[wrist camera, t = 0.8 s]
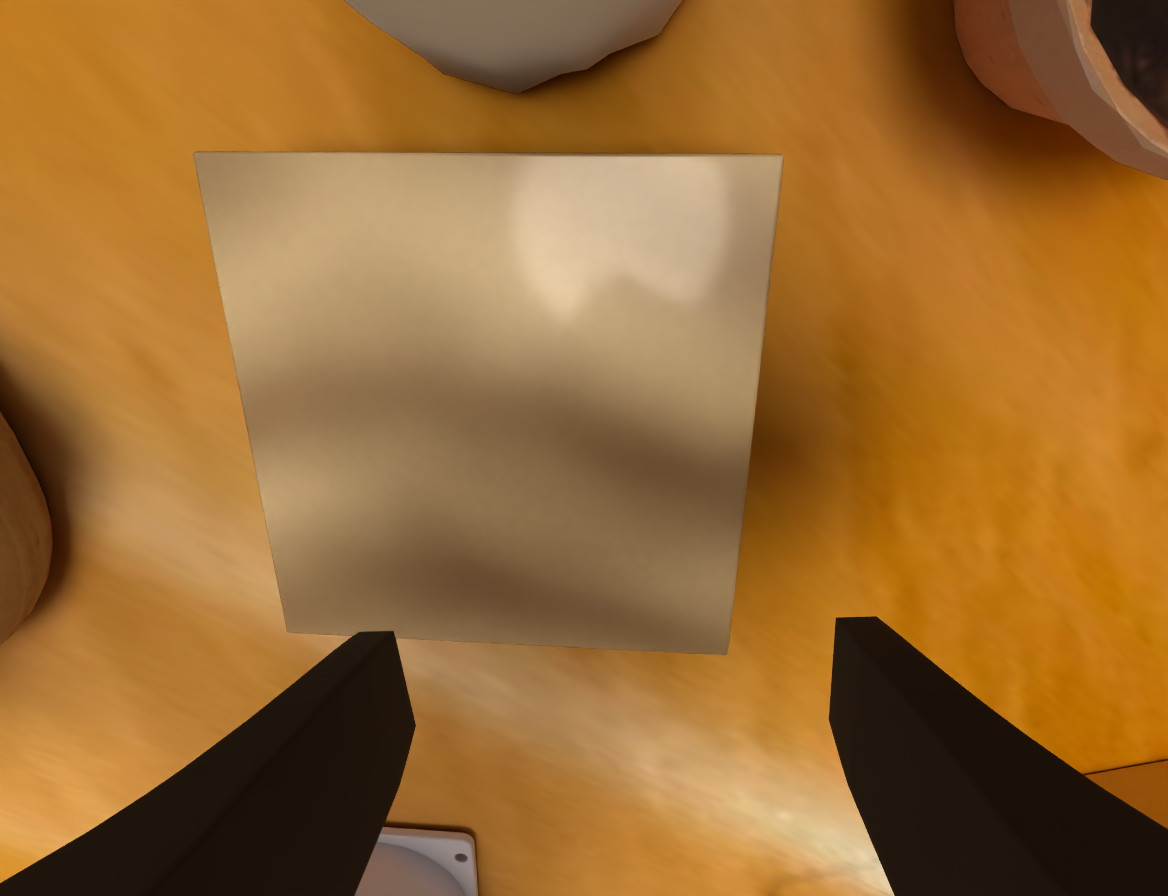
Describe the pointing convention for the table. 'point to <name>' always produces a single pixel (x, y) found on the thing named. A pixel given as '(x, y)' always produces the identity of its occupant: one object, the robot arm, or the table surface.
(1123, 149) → the potted plant
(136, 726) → the table surface
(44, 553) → the ceramic vessel
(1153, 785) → the block
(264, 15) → the table surface
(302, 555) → the box
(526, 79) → the bottle
